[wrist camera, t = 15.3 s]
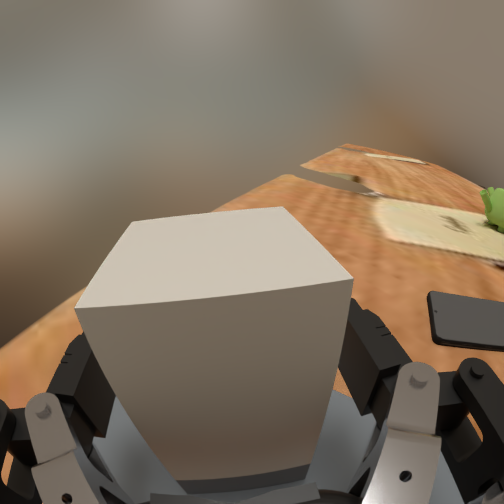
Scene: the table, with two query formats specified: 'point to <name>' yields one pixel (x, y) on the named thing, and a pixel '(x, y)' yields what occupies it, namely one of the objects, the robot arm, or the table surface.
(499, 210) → the teapot
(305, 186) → the table surface
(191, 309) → the block
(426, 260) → the table surface
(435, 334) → the smartphone
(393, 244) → the table surface
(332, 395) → the desk mat
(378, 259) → the table surface
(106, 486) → the robot arm
